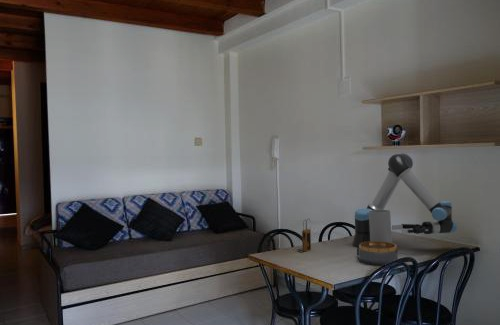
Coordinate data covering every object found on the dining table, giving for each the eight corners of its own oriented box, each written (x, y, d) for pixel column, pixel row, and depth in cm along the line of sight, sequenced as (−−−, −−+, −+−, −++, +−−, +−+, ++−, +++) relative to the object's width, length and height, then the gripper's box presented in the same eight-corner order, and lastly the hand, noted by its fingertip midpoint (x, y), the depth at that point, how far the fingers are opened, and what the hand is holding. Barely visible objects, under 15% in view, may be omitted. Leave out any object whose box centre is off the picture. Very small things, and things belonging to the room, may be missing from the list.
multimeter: (299, 246, 287) (298, 216, 287) (313, 248, 282) (312, 217, 281) (289, 251, 275) (288, 219, 274) (304, 253, 269) (303, 220, 269)
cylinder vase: (393, 254, 258) (391, 212, 258) (371, 254, 261) (369, 212, 261) (391, 250, 270) (389, 209, 271) (370, 250, 273) (368, 210, 273)
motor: (347, 258, 253) (347, 243, 253) (373, 253, 264) (373, 238, 264) (379, 267, 233) (379, 251, 233) (405, 261, 244) (405, 245, 243)
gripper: (441, 237, 256) (406, 239, 254) (420, 230, 281) (388, 231, 279) (441, 224, 256) (406, 226, 254) (420, 218, 281) (388, 220, 279)
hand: (397, 229), depth 266 cm, fingers open, 13 cm apart
